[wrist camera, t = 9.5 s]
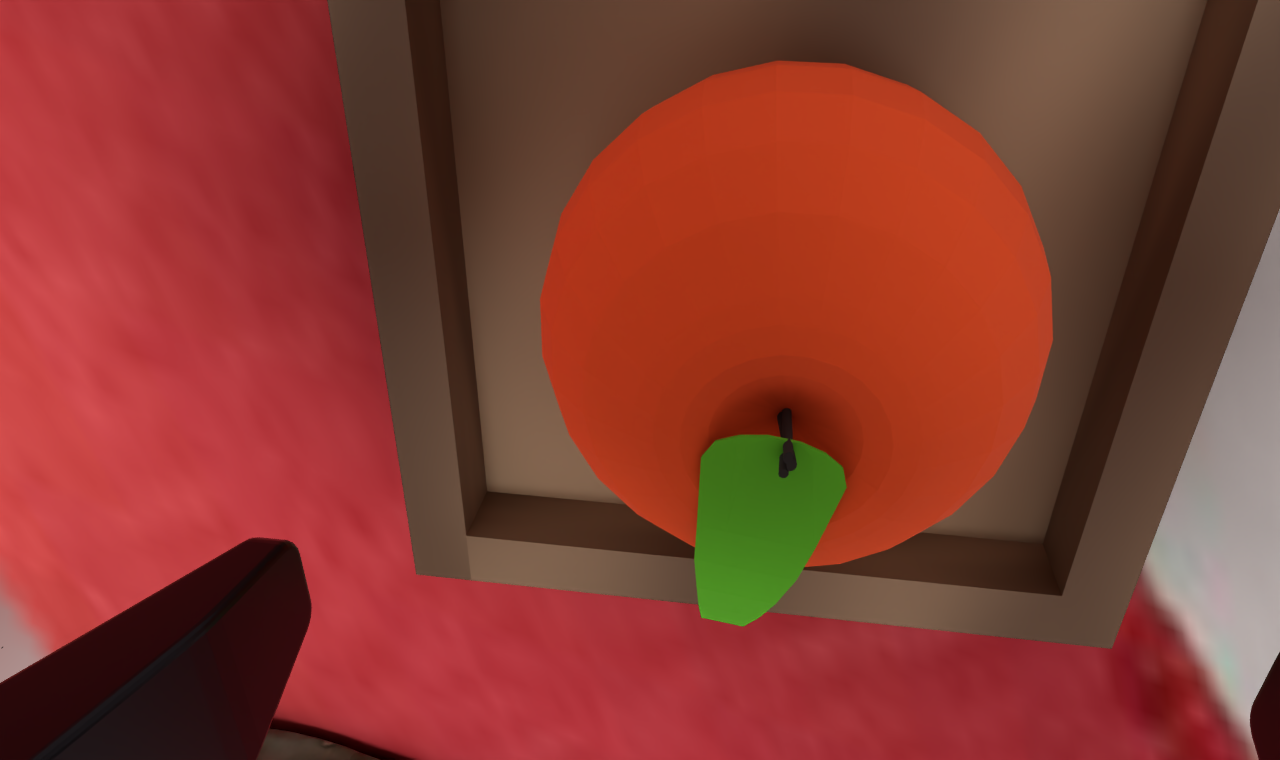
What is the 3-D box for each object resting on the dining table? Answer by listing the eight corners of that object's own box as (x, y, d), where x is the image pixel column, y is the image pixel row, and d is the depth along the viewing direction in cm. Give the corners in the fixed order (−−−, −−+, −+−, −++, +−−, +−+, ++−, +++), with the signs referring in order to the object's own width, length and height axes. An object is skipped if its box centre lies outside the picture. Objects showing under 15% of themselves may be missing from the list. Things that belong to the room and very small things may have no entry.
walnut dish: (1344, -207, 12) (1441, -217, 10) (1081, 574, 19) (1111, 648, 17) (357, -209, 14) (293, -218, 12) (448, 512, 21) (416, 574, 19)
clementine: (904, 476, 18) (964, 795, 12) (564, 406, 18) (452, 682, 12) (1061, 64, 14) (1276, 230, 8) (618, -18, 14) (490, 81, 8)
